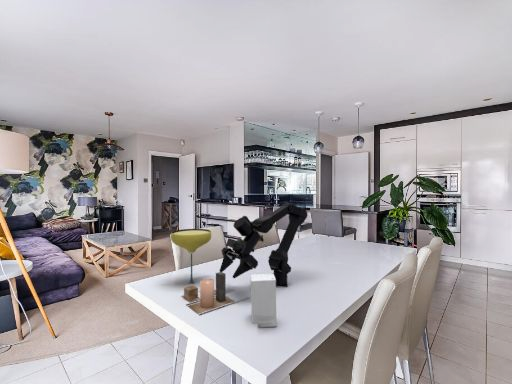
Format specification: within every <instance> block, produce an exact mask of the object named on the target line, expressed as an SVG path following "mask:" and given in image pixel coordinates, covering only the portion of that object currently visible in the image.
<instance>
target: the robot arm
mask: <svg viewBox="0 0 512 384" xmlns="http://www.w3.org/2000/svg"><path fill="white" fill-rule="evenodd" d="M287 215H288V220H289V222H288V225H287V227H286V229H285V231H284V234H283V236H282V238H281V240H280V243H279V245H278V247H277V248H276V249H275V250H274V249H272V250H271V252H270V255H269V256H268V261H267V263H268V266H269V268H270V270H271V271H273V273H272V274H274V276H275V279H276V287H282V288H284V287H285V288H286V287H289V285H288V274H289V273H291V271H292V267H291V265H289V263H288V261H289V256H288V252H289V250H290V248H291V245H292V243H293V241H294V239H295V236H296V234H297V231H298V229H299V227H300V226H301V225H303V224H304V223H305V221H306V219H307V217H308V215H309V214H308V211H307V209H306V208H303V207H300V206H296V205H294V204H292V203H284V204H282V205H281V206H279V207H278V208H276V209H275V210H273V211H272V212H270V213H269V214H267V215H264V216H260V217H258V218H255V219H254V220H253V221H250V219H249V218H248V216H247V215H243V216H242V217H240V218H238V219H237V220H235V221H234V223H233V227H234V229H235V230H236V231H237V232H238V233H239V234H240V236H241V237H244V238H243V239H241V238H238V239H232V238H228V239H227V241H226V244H225V247H223V248H222V249H221V254H222V261H221V266H220V268H219V272H223V273H224V271H225V270H226V269H227V268H229V267H230V266H231V265H232V264H233V263H234V261H235V260H236V259H238V260H239V265H238V266H237V267H236V270H235V271H234V273H233V275H232V278H233V279H236V278H238V277H240V276H241V275H243V274H244V273H247V272H249V271H251V270H253V269H254V270H255V269H256V268H257V267H258V265H259V262H258V260H257V259H256V258H255V257H254V255H252V254H251V253H254V252H255V247H256V246H257V245H258V243H259V242H262V243H264V241H265V240H264V235H262V234H267V233H269V232H270V230H271V229H273V227H274V224H276V223H277V222H279V221H281V220H282V219H283V218H284V217H286V216H287ZM260 233H262V234H260Z"/></svg>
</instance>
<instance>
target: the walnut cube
mask: <svg viewBox="0 0 512 384" xmlns="http://www.w3.org/2000/svg"><path fill="white" fill-rule="evenodd" d="M183 295H184V298H186V299H187V300H188V301H189V300H193V299H196V298H198V297H199V288H198V287H197V286H196V285H194V284H191V285H187V286H184V287H183ZM184 298H183V299H184ZM187 300H186V301H187ZM188 301H187V302H188Z"/></svg>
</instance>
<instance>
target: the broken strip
mask: <svg viewBox="0 0 512 384" xmlns="http://www.w3.org/2000/svg"><path fill="white" fill-rule="evenodd" d="M198 293H200V290H198ZM214 296H216V289H214ZM180 297H181V298H182V299H184V300H185V301H187V302H188V304H189V303H193V302H196V301H199V300H200V296H198V298H196V299H193V300H189V301H188V300H187V299H186V298H184V294H183V295H181V296H180Z"/></svg>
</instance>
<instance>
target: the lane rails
mask: <svg viewBox="0 0 512 384" xmlns="http://www.w3.org/2000/svg"><path fill="white" fill-rule="evenodd" d="M232 292H235V289H233V290H229V291H226V294H230V293H232ZM215 297H216V295H214V298H215ZM249 299H250V297H246V298H242V299H239V300H237V301H235V302H232V303H229V304H226V305H223V306H220V307H217V308H214V309H211V310H208V311H205V312H202V313H199V314H197V315H198V316H200V317H201V316H202V315H207V314H209V313H211V312H214V311H218V310H220V309H223V308H225V307H229V306H232V305H235V304H238V303H240V302H245V301H246V300H249ZM199 302H200V300H198V301H194V302H191V303H189V302H188V303H187V304H185V306H186V307H188V306H189V305H192V304H196V303H199Z"/></svg>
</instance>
